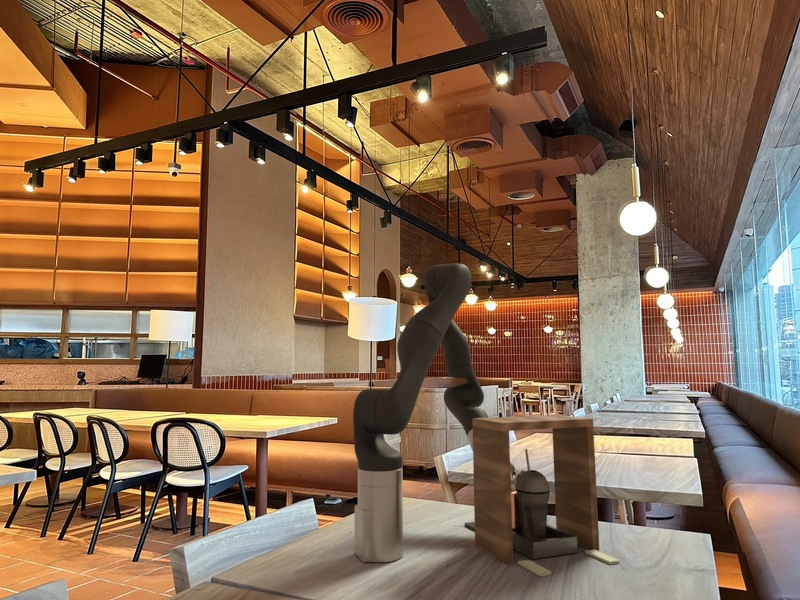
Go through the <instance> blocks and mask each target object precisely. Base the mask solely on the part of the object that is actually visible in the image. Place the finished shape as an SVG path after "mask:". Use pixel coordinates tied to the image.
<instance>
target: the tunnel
mask: <svg viewBox="0 0 800 600" xmlns="http://www.w3.org/2000/svg"><path fill="white" fill-rule="evenodd" d="M472 426H473V451H472V457H473V461H472V463H473V464H472V467H473V505H474V506H473V509H474V510H473V511H474V522H475V531H474V546H475V547H476V548H478V549H479V550H481V551H483V552H485V553H487V554H488V555H490V556H492V557H494V558H495V559H497V560H499V561H500V562H502V563H504V564H505V565H508V564H513V563H514V555H513V554H514V550H513V549H514V548H513V543H512V510H511V478H510V462H511V454H510V453H511V451H510V432H511V431H512V432H515V431H516V432H517V431H529V430H531V431H532V430H551V429H552V452H553V453H552V454H553V475H554V480H553V481H554V496H555V497H554V501H555V524H556V525H555V528H557V529H560V530H562V531H564V532H567V533H569V534H572V535H574V536H576V537H577V545H580V546H582V547H584V548H587V549H589V550H594V549H595V550H597V551H599V550H600V534H599V532H600V531H599V512H598V511H599V510H598V495H597V493H598V492H597V474H596V471H597V470H596V455H595V450H596V449H595V435H594V433H595V431H594V418H589V417H581V416H570V415H562V414H547V415H546V414H545V415H544V414H542V415H541V414H540V415H524V416H523V415H521V416H519V415H518V416H501V417H500V416H497V417H496V416H495V417H489V418H472Z"/></svg>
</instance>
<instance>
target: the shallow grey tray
mask: <svg viewBox="0 0 800 600" xmlns="http://www.w3.org/2000/svg"><path fill="white" fill-rule="evenodd" d="M511 510H512V543H513V549H514V550H516V551H517V552H520V554H521V553H522V554H523V555H525V556H527V557H529V558H530V559H533V560H537V559H542V558H548V557H554V556H561V555H568V554H575V553H578V543H577V537H576V536H574V535H572V534H569V533H567V532H564V531H562V530H560V529H557V528H556V526H555V527H554V526H552V525H550V524H547V525H546V540H540V541H532V540H530V539H528V538H526V537H524V536H522V532H521V522H520V513H519V503H518V499H517V493H516V491H514V492H511Z"/></svg>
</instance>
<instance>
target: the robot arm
mask: <svg viewBox="0 0 800 600" xmlns="http://www.w3.org/2000/svg"><path fill="white" fill-rule="evenodd" d="M423 276H424V277H423V278H424V279H423V285H424V292H425V295H426V298H427V302H428V304H427V305H425V306H424V307H423V308H422V309H420V310H419V311H418V312H416V313H415V314H414V315H413V316H412V317H411V318H410V319H409V320H408V321H407V322H406V324H405V326H404V328H403V330H402V332H401V333H400V336H399V338H398V341H397V344H396V350H397V351H396V352H397V357H398V360H399V365H400V372H399V374H398V377H397V378H396V381H395V382H394V384H393V385H392V387H390V388H367V389H362V390H361V391H359V393H358V394H357V396H356V398H355V400H354V403H353V404H354V405H353V412H352V420H353V421H352V423H353V441H354V442H353V443H354V445H353V447H354V454H355V457H356V460H357V504H355V505H354V542H353V543H354V544H353V545H354V546H353V547H354V555H355V556H357V558H359V559H360V560H361V562H363V563H367V562H369V563H371V562H372V563H387V562H392V561H396V560H399V559H400V558H402V557H403V555H404V515H403V514H404V509H403V506H404V505H403V503H404V502H403V501H404V498H403V497H404V495H403V494H404V493H403V492H404V490H403V488H404V487H403V482H404V479H403V456H402V453H401V452H399V451H398V450H396V449H395V448H393V447H392V446H391V445H389V443H388V442H387V441H386V439H385V435H391V436H392V435H393V436H394V435H398V434H401V433H402V432H403V431H404V430H405V429H406V427H407V426H408V424H409V422H410V419H411V418H412V414H413V412H414V410H415V409H414V408H415V407H416V403H417V400H418V397H419V393H420V391H421V388H422V386H423V383H424V381H425V378H426V375H427V373H428V372H429V369H430V367H431V365H432V362H433V360H434V358H435V357H436V354H437V352H438V351H439V348H440V346H441V347H442V352H443V353H442V354H443V358H444V365H445V370H446V374H447V375H448V376H449V377H450V378H453V379H465V381H466V382H464V383H458V384H456V385H451V386H448V387H447V388H446V389H445V390H444V393H443V401H444V404H445V406H446V409H448V411H449V412H450V413H451V414H452V415H453V416H454V417H455V419H456V420H457V421H458V422H459V424H461V425H460V426H462V428H463V431H464V433H465V435H466V437H467V439H468V443H469V446H470V448H471V452H473V426H472V418H490V417H489V415H488V414H487V412H486V411H485V410H484V409H483V408H481V406H482V405H483V403H484V400H485V394H484V390H483V388H482V386H481V384H480V382H479V380H478V378H477V375H476V372H475V371H474V367H473V361H472V355H471V349H470V344H469V341H468V339H467V337H466V336H465V334H464V333H463V331H462V330H461V329H460V327H459V326H458V325H457V323H456V322H455V320H454V316H455V315H456V314H457V312H458V310H459V309H460V307H461V306H462V304H463V302H464V301H465V299H466V297H467V296H468V295H469V291H470V288H471V284H472V275H471V271H470V269H469V267H468V266H466V265H465V264H463V263H458V262H457V263H456V262H455V263H444V264H435V265H430V266H428V268H426V270H425V271H424V275H423ZM479 407H480V408H479ZM525 471H526V470H523V469H521V471H520V470H519V469H516V468H515V466H514V464H513V463H512V462H511V461H510V478H511V492H514V491H516V490H515V489H516V483H517V480H518V478H519V476H520V475H521V474H522V473H523V472H525Z"/></svg>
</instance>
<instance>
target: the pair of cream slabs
mask: <svg viewBox="0 0 800 600" xmlns="http://www.w3.org/2000/svg"><path fill="white" fill-rule="evenodd" d="M584 553H585V554H586V555H588V556H590V557H592V558H594V559H597V560H599V561H601V562H603V563H605V564H608V565H614V564H615V565H616V564H620V563H621V561H620V559H617V558H615V557H614V556H611V555H609V554H606V553H604V552H601V551H599V550H595V549H594V550H592V549H589V550H588V549H587V550H585V551H584ZM517 564H518V565H519V566H521V567H523V568H525V569H526V570H528V571H530V572H531V573H533V574H535V575H537V576H539V577H545V576H551V575H552V571H551V570H549V569H547V568H545V567H543V566H541V565H539V564H537V563H536V562H534V561H532V560H530V559H524V560H518V562H517Z"/></svg>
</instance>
